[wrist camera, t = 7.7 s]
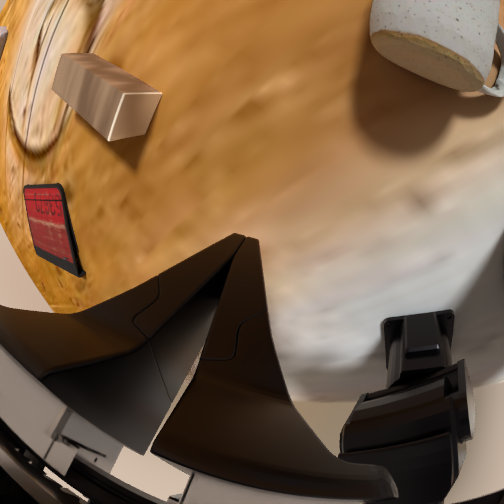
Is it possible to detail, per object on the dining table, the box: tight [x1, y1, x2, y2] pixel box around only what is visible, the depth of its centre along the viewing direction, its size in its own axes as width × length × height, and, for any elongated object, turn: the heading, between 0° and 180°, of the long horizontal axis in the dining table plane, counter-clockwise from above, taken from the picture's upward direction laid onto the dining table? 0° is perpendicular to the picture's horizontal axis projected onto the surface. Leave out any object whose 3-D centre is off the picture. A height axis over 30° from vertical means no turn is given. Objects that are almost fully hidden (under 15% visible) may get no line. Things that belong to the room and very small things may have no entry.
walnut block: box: [52, 53, 162, 142], centre depth 20 cm, size 4×4×14 cm
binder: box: [23, 183, 86, 278], centre depth 40 cm, size 16×2×21 cm
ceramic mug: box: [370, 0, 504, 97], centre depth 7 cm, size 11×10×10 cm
